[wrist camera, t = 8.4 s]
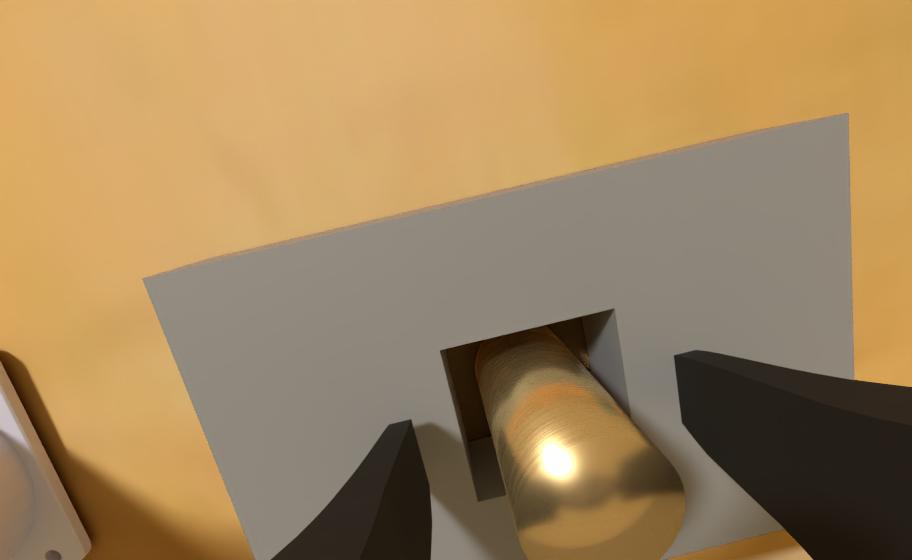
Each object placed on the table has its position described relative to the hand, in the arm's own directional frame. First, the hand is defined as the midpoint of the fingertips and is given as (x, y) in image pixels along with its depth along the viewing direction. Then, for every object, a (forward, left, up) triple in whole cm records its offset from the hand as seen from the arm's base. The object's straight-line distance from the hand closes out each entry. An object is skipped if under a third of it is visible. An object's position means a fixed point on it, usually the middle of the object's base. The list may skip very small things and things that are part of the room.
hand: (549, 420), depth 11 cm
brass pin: (0, 0, -4) cm, 4 cm away
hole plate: (0, 0, -4) cm, 4 cm away
